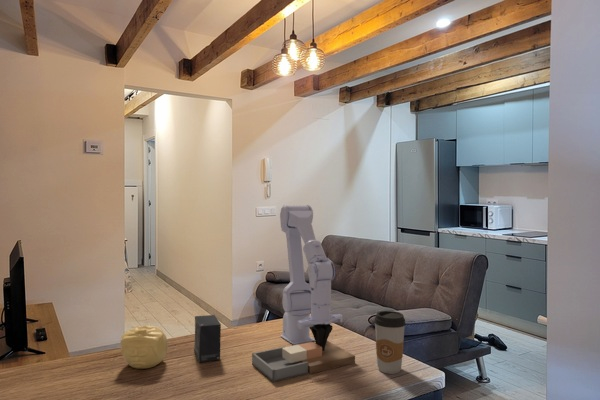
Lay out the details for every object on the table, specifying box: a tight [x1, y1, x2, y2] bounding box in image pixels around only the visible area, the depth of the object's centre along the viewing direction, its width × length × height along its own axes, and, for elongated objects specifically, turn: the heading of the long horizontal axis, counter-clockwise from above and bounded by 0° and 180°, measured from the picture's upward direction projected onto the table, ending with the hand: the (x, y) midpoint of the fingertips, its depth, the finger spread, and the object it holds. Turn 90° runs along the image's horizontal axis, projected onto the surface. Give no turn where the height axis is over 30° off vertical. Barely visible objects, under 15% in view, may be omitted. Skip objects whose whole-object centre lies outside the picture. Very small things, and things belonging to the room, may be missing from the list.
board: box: [299, 340, 356, 375], centre depth 119 cm, size 14×15×2 cm
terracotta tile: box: [298, 341, 322, 359], centre depth 117 cm, size 5×5×2 cm
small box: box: [193, 314, 222, 363], centre depth 121 cm, size 11×6×10 cm, turn 22°
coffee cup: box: [374, 310, 406, 375], centre depth 113 cm, size 8×8×15 cm
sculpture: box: [120, 325, 168, 370], centre depth 115 cm, size 11×12×11 cm
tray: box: [251, 346, 309, 383], centre depth 112 cm, size 13×10×3 cm
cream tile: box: [282, 344, 307, 363], centre depth 115 cm, size 5×5×2 cm
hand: (320, 349), depth 119 cm, fingers closed
